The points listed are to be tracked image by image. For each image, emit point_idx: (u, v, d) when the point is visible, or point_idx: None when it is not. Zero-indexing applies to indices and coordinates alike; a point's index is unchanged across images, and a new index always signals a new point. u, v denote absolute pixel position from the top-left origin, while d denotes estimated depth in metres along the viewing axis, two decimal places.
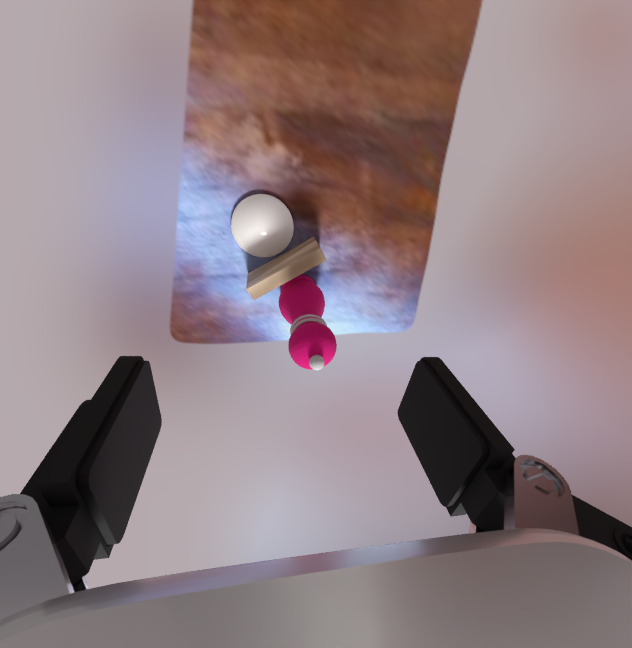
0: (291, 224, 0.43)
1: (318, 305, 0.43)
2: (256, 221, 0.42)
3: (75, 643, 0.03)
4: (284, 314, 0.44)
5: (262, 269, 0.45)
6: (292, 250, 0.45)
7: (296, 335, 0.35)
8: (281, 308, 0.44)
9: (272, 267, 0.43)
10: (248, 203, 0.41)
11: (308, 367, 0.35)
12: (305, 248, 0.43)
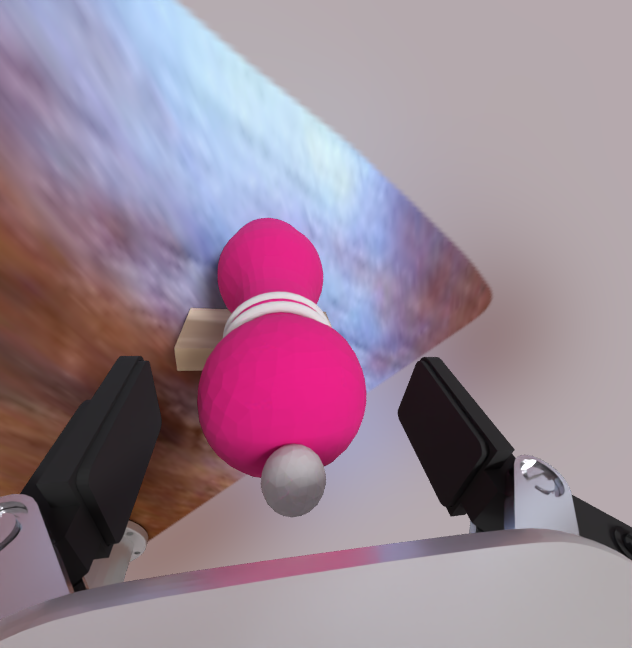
0: None
1: (231, 300, 0.17)
2: None
3: (75, 643, 0.03)
4: None
5: None
6: None
7: None
8: None
9: None
10: None
11: (340, 421, 0.09)
12: None
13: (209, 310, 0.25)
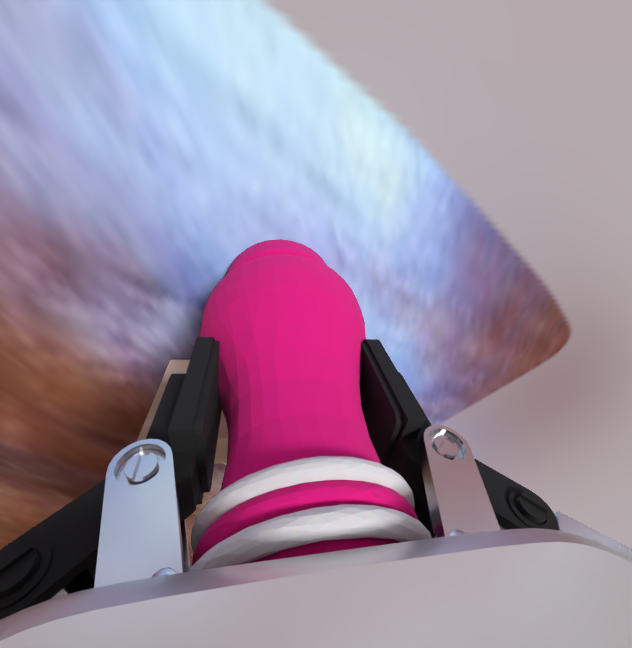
0: None
1: (219, 394, 0.10)
2: None
3: (75, 643, 0.03)
4: None
5: None
6: None
7: None
8: None
9: None
10: None
11: None
12: None
13: None
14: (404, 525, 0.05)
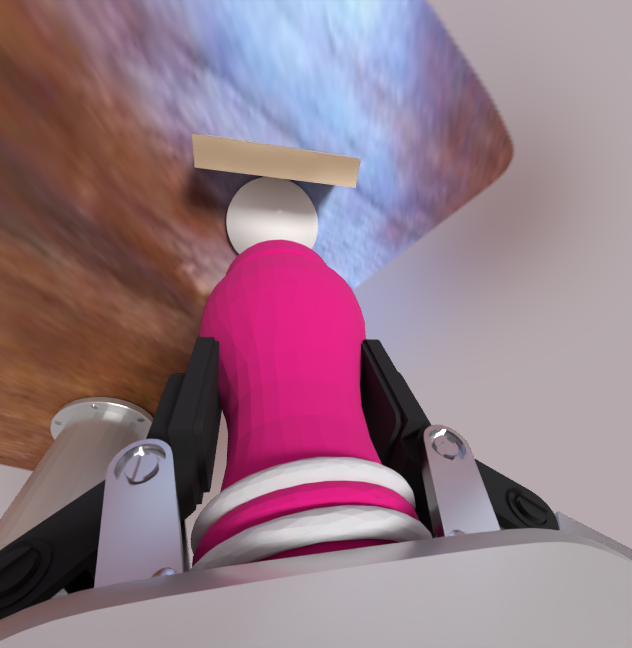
0: (232, 205, 0.27)
1: (219, 394, 0.10)
2: (276, 239, 0.30)
3: (75, 643, 0.03)
4: None
5: None
6: None
7: None
8: None
9: None
10: None
11: None
12: None
13: None
14: (405, 526, 0.05)
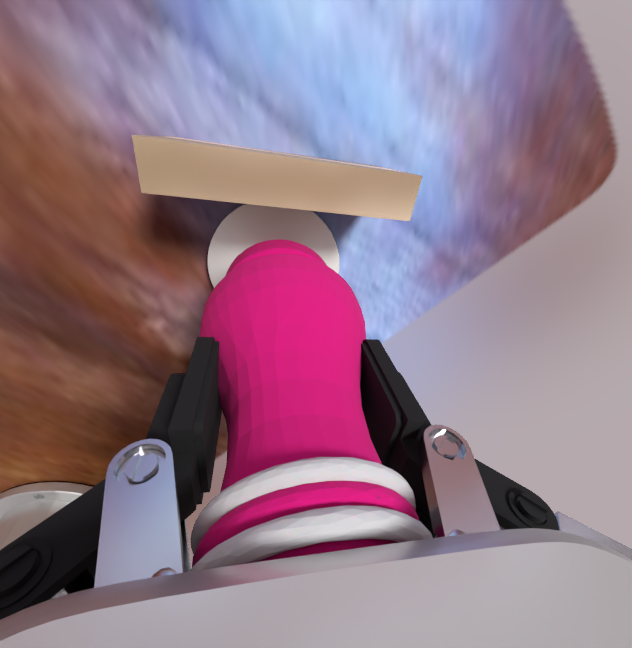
0: (216, 240, 0.19)
1: (219, 394, 0.10)
2: None
3: (75, 644, 0.03)
4: None
5: None
6: None
7: None
8: None
9: None
10: None
11: None
12: None
13: (201, 141, 0.16)
14: (405, 526, 0.05)
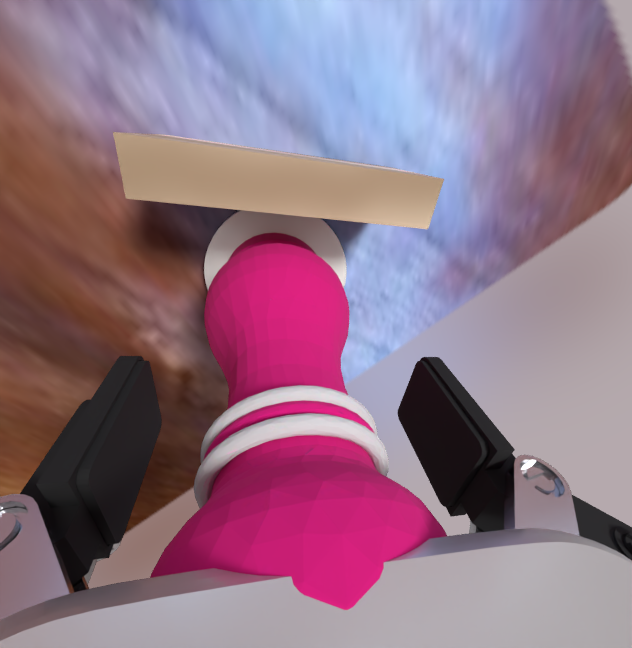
0: (213, 248, 0.17)
1: (221, 360, 0.12)
2: None
3: (75, 643, 0.03)
4: None
5: None
6: None
7: None
8: None
9: None
10: None
11: None
12: None
13: (196, 139, 0.14)
14: (359, 430, 0.07)
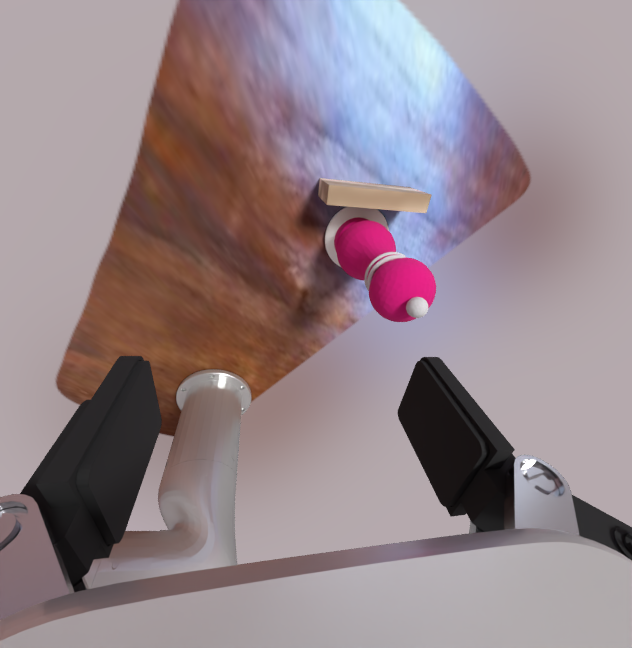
0: (331, 225, 0.39)
1: (353, 261, 0.33)
2: None
3: (74, 644, 0.03)
4: None
5: None
6: None
7: None
8: None
9: None
10: None
11: (429, 291, 0.25)
12: None
13: None
14: None
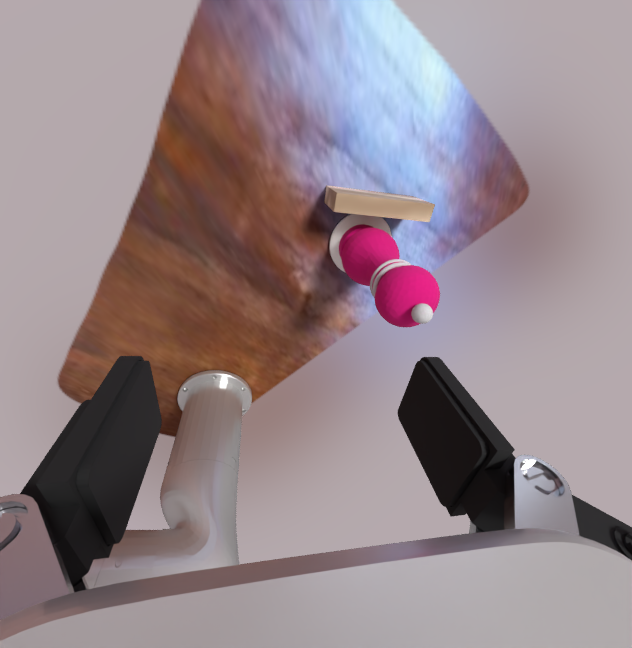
0: (336, 231, 0.40)
1: (358, 267, 0.34)
2: None
3: (75, 644, 0.03)
4: None
5: None
6: None
7: None
8: None
9: None
10: None
11: (434, 298, 0.26)
12: None
13: (339, 187, 0.37)
14: None
